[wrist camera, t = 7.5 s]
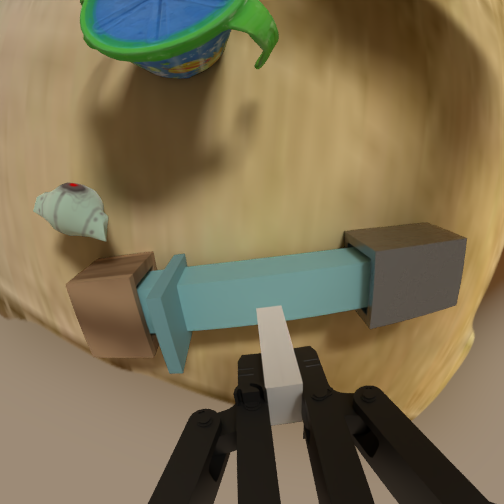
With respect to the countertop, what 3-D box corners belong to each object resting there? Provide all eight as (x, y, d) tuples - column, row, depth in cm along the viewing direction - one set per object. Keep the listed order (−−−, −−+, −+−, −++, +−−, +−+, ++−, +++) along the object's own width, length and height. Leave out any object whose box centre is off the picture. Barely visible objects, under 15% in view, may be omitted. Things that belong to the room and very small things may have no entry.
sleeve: (344, 231, 25) (375, 251, 19) (427, 222, 25) (466, 238, 19) (343, 295, 27) (369, 329, 21) (422, 280, 27) (456, 305, 21)
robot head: (60, 209, 22) (18, 224, 16) (68, 169, 21) (25, 174, 15) (125, 235, 24) (92, 258, 17) (137, 192, 23) (104, 202, 16)
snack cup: (291, 41, 19) (321, -19, 10) (227, 130, 22) (220, 103, 12) (154, -13, 16) (125, -70, 6) (91, 66, 18) (31, 32, 9)
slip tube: (119, 261, 24) (75, 303, 16) (373, 231, 25) (427, 261, 16) (135, 317, 26) (104, 372, 18) (371, 289, 26) (415, 334, 18)
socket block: (98, 258, 24) (65, 284, 18) (153, 251, 24) (128, 278, 18) (117, 321, 26) (93, 357, 20) (169, 318, 26) (153, 357, 20)
